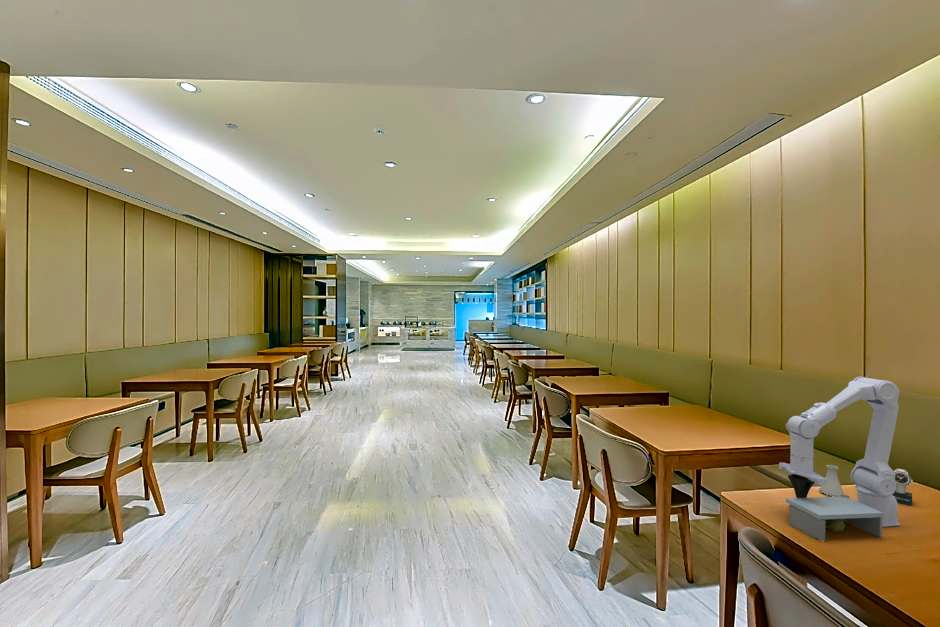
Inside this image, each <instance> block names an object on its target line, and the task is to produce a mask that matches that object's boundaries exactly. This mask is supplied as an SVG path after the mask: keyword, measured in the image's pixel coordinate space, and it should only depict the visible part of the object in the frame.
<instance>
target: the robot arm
mask: <svg viewBox="0 0 940 627" xmlns="http://www.w3.org/2000/svg"><path fill="white" fill-rule="evenodd" d="M900 391H901V390H900V389H899V388H898V386H897V385H896V384H895V383H894V382H893V381H890V380H888V379H887V380H885V379H884V380H883V379H877V378H870V377H865V376H857V377H855V378H853V380H850V381H849V382H848V384H847V387H845V388H844V389H843V390H842V391H840V392H839V393H837V394H836V395H835V396H833V397H832V398H831V399H830V400H828V401H827V402H826V403H825V402H815V403H814V404H813V406H812V407H810V408H809V409H806V411H804V412H802V413H800V415H793V416H792V417H790V418H789V419H788V420H787V422H786V423H785V429H786V430H787V431H788V434H789V438H790V456H789V457H790V458H789V460H790V462H789V463H786V462H779V463H778V469H779V470H781V471H786V472H788V474H789V473H790V474H791V475H790V474H789V475H788V474H787V475H788V476H787V478H788V480H789V482H790V483H791V486H792V488H793V491H794V495H795V498H808V496H809V495H808V494H809V492H810V490H811V488H812V487H813V485H814V484H815V483H816V484H817V485H818V486H821V485H826V484H827V479H826V478H825V477H823V476H822V475H820V474H819V473H817V472H815V471H814V441H815V440H814V438H815V437H818V435H819V433H820V430H821V429H822V428H823V426H826V425H827V424H828V423H830V422H831V421H833V420H835V419H836V417H837V413H838V412H839V411H841V410H842V409H845V408H846V407H849V405H852V404H854V403H855V402H857V401H861V400H862V401H865V402H867V404H868V405H869V406H870V407H871V408H872V409H873V411H872V415H871V422H870V426H869V430H868V431H869V432H868V437H867V442H866V447H865V452H864V457H863V458H861V459H859V460H857V461H856V462H855V466H854V468H853V469H852V470H851V472H850V480H851V482H852V483H853V484H854V486H855V488H856V491H857V493H856V495H857V496H856V501H857V502H859V503H862V504H864V505H866V506H869V507H871V508H873V509H876V510H878V511H880V512H883V517H882V528H884V527H885V528H886V527H896V526H898V527H899V526H901V523H900V522H898V503H897V501H896V499H895V497H894V496H893V495H892V494H893V493H894V492H895V490H896V482H895V473H894V471H895V470H893V469H892V468H891V467H890V465H889V459H890V456H891V455H890V454H891V448H892V445H893V439H894V435H895V430H896V424H897V420H898V419H897V418H898V413H899V408H900V406H899V401H898V400H899V396H900Z"/></svg>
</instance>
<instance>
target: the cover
mask: <svg viewBox="0 0 940 627" xmlns="http://www.w3.org/2000/svg"><path fill="white" fill-rule="evenodd" d="M785 503H787V504H788V505H792V506H794V507H796V508H798V509H800V510H802V511H804V512H806V513H808V514H810V515H812V516H814V517H816V518H818V519H819V520H823V519H848V518H872V517H883V512H880V511H878V510H876V509H873V508H871V507H869V506H866V505H864V504H862V503H859V502H857V500H855V499H852V498H850V496H849V495H847V494H844V495H843V494H841V497H831V496H821V497H820V496H815V497H807V498H796V497H787V498H785Z"/></svg>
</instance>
